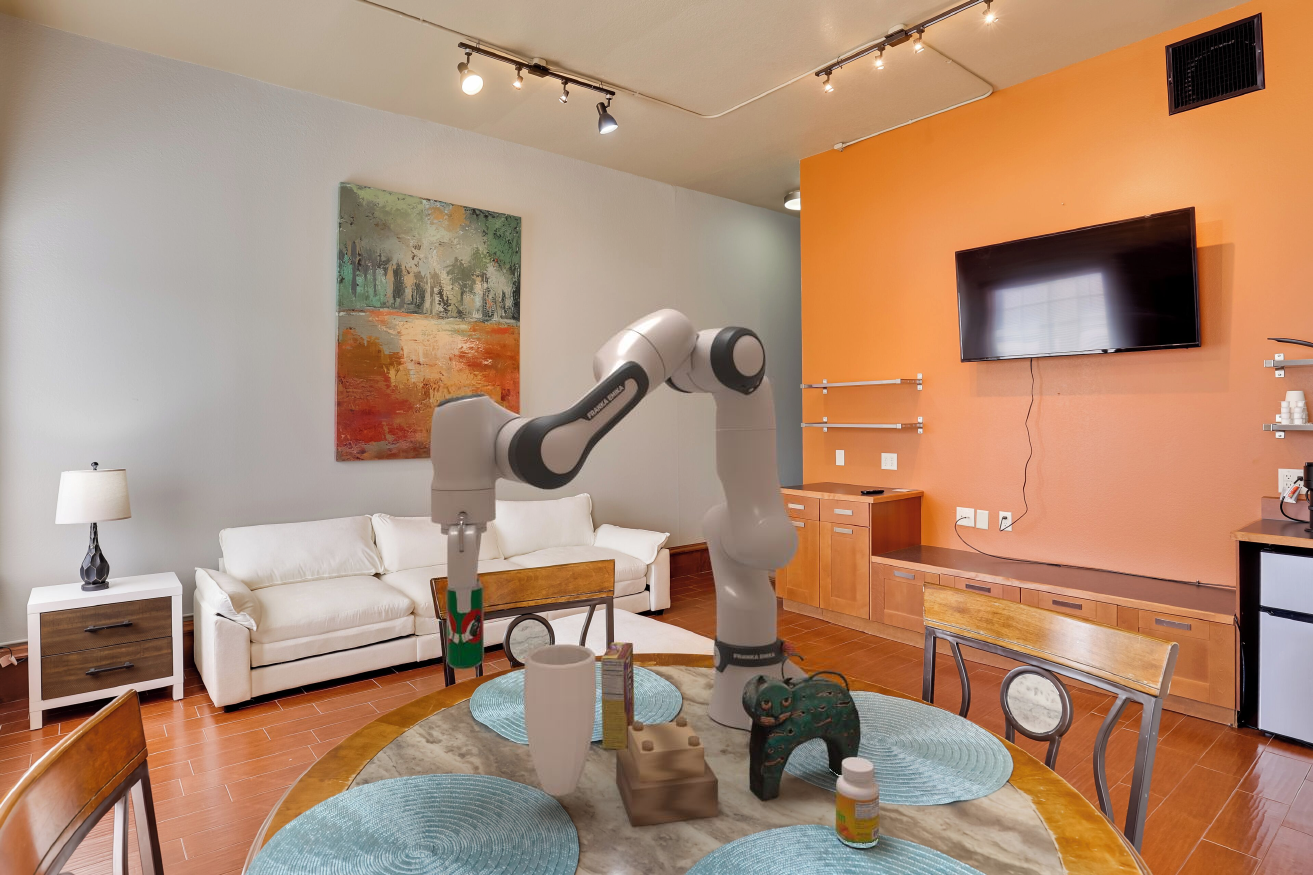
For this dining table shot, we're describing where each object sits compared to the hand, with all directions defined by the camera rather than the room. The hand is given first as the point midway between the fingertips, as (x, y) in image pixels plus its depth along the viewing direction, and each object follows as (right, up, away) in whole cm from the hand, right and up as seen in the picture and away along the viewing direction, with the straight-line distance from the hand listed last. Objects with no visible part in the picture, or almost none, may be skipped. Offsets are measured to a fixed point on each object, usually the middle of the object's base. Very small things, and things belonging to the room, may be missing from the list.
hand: (465, 605), depth 101 cm
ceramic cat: (+49, -28, +6) cm, 57 cm away
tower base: (+28, -28, +1) cm, 40 cm away
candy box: (+21, -28, +21) cm, 40 cm away
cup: (+14, -28, -2) cm, 31 cm away
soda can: (0, -9, 0) cm, 9 cm away
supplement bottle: (+53, -28, -9) cm, 61 cm away
